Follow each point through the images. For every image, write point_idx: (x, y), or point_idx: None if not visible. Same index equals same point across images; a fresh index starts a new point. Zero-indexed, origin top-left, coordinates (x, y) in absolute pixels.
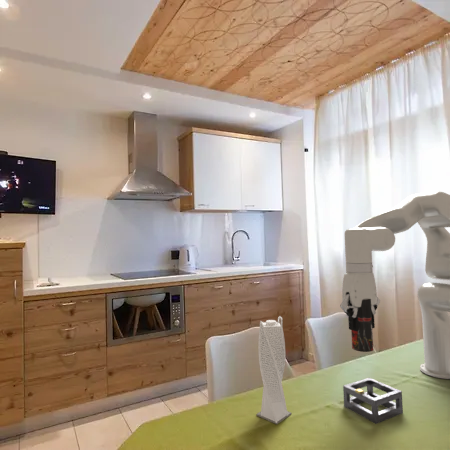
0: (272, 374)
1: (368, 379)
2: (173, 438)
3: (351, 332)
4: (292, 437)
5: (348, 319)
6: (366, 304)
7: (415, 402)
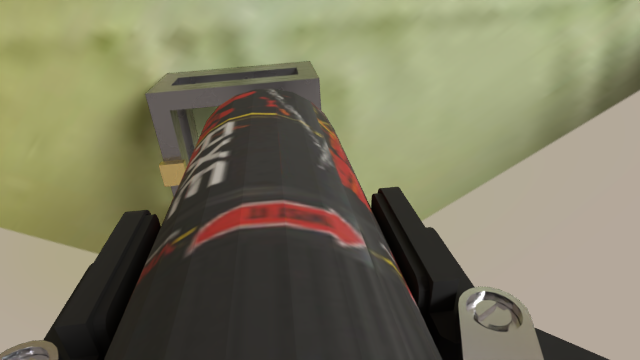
0: None
1: (300, 92)
2: None
3: (185, 171)
4: None
5: (79, 286)
6: None
7: (412, 151)
